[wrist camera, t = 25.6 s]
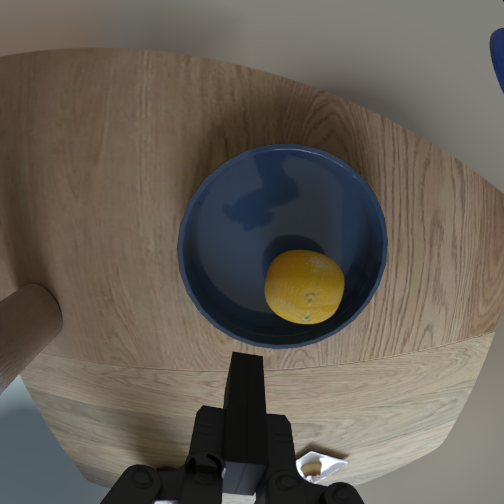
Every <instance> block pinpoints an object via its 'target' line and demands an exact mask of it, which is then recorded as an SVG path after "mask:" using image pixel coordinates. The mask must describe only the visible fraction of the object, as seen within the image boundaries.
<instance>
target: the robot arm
mask: <svg viewBox="0 0 504 504" xmlns="http://www.w3.org/2000/svg"><path fill="white" fill-rule="evenodd" d="M503 2H504V0H503ZM255 492H256V501H255V503H254V504H364V502H363V500H362V499H361V497H360V495H359V494H358V492H357V490H356V489H355V488H354V487H353V486H352V485H350V484H348V483H344V482H336V483H333V484H331V485H329V486H323V485H319V484H314V483H311V482H308V481H307V480H305V479H304V478H303V477H302V476H301V475H300V474H299V472H298V469H297V464H296V457H295V450H294V443H293V437H292V430H291V424H290V422H289V421H288V419H287V418H286V416H285V415H278V414H267V413H266V401H265V386H264V370H263V356H258V355H251V354H245V353H239V352H233V353H232V358H231V363H230V368H229V373H228V378H227V383H226V388H225V395H224V405H223V409H222V408H216V407H210V406H205V405H203V406H202V407H201V408H200V409H199V411H198V412H197V413H196V418H195V424H194V428H193V434H192V439H191V444H190V449H189V455H188V457H187V459H186V461H185V464H184V465H183V466H182V467H180V468H178V469H175V470H170V471H156V470H155V469H153V468H152V467H150V466H147V465H140V464H136V465H133V466H130V467H128V468H127V469H126V470H125V471H124V472H123V474H122V475H121V476H120V478H119V479H118V480H117V482H116V483H115V484H114V486H113V487H112V488H111V490H110V491H109V492H108V494H107V495H106V496H105V498H104V499H103V500H102V502H101V503H100V504H222V493H229V494H239V495H252V496H253V495H254V494H255Z"/></svg>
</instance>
